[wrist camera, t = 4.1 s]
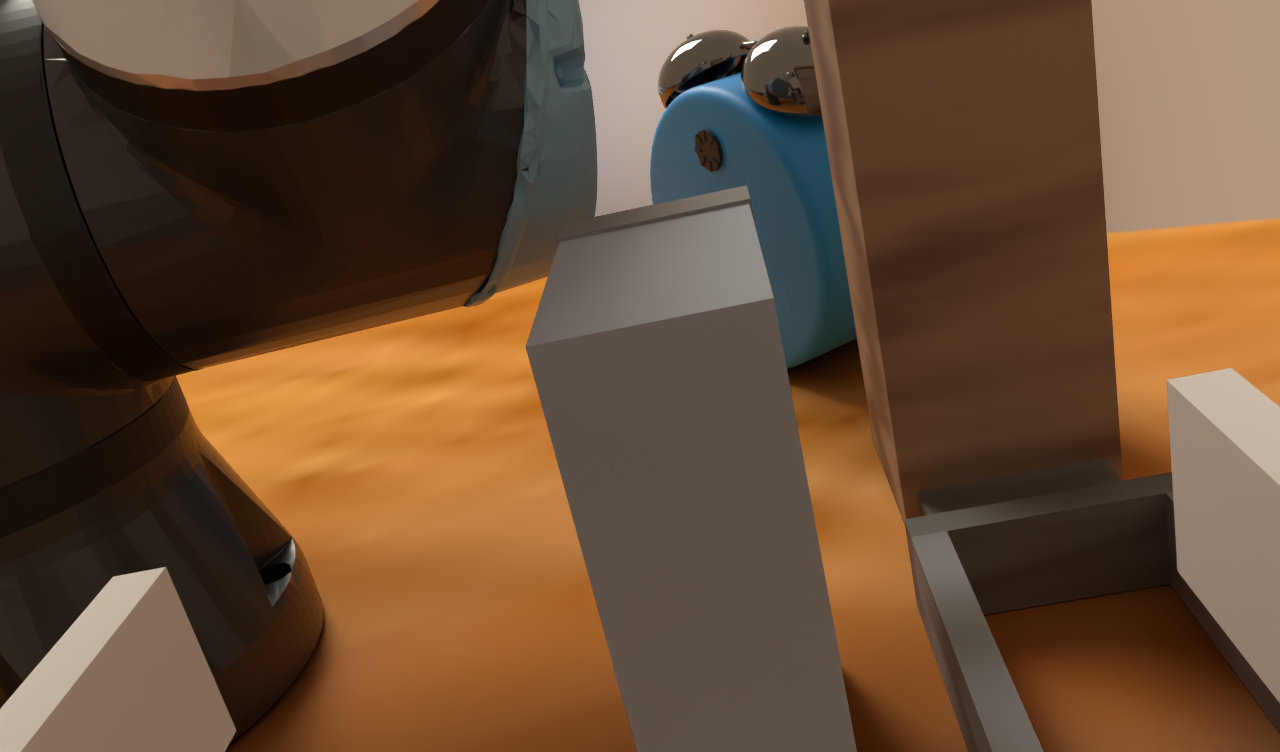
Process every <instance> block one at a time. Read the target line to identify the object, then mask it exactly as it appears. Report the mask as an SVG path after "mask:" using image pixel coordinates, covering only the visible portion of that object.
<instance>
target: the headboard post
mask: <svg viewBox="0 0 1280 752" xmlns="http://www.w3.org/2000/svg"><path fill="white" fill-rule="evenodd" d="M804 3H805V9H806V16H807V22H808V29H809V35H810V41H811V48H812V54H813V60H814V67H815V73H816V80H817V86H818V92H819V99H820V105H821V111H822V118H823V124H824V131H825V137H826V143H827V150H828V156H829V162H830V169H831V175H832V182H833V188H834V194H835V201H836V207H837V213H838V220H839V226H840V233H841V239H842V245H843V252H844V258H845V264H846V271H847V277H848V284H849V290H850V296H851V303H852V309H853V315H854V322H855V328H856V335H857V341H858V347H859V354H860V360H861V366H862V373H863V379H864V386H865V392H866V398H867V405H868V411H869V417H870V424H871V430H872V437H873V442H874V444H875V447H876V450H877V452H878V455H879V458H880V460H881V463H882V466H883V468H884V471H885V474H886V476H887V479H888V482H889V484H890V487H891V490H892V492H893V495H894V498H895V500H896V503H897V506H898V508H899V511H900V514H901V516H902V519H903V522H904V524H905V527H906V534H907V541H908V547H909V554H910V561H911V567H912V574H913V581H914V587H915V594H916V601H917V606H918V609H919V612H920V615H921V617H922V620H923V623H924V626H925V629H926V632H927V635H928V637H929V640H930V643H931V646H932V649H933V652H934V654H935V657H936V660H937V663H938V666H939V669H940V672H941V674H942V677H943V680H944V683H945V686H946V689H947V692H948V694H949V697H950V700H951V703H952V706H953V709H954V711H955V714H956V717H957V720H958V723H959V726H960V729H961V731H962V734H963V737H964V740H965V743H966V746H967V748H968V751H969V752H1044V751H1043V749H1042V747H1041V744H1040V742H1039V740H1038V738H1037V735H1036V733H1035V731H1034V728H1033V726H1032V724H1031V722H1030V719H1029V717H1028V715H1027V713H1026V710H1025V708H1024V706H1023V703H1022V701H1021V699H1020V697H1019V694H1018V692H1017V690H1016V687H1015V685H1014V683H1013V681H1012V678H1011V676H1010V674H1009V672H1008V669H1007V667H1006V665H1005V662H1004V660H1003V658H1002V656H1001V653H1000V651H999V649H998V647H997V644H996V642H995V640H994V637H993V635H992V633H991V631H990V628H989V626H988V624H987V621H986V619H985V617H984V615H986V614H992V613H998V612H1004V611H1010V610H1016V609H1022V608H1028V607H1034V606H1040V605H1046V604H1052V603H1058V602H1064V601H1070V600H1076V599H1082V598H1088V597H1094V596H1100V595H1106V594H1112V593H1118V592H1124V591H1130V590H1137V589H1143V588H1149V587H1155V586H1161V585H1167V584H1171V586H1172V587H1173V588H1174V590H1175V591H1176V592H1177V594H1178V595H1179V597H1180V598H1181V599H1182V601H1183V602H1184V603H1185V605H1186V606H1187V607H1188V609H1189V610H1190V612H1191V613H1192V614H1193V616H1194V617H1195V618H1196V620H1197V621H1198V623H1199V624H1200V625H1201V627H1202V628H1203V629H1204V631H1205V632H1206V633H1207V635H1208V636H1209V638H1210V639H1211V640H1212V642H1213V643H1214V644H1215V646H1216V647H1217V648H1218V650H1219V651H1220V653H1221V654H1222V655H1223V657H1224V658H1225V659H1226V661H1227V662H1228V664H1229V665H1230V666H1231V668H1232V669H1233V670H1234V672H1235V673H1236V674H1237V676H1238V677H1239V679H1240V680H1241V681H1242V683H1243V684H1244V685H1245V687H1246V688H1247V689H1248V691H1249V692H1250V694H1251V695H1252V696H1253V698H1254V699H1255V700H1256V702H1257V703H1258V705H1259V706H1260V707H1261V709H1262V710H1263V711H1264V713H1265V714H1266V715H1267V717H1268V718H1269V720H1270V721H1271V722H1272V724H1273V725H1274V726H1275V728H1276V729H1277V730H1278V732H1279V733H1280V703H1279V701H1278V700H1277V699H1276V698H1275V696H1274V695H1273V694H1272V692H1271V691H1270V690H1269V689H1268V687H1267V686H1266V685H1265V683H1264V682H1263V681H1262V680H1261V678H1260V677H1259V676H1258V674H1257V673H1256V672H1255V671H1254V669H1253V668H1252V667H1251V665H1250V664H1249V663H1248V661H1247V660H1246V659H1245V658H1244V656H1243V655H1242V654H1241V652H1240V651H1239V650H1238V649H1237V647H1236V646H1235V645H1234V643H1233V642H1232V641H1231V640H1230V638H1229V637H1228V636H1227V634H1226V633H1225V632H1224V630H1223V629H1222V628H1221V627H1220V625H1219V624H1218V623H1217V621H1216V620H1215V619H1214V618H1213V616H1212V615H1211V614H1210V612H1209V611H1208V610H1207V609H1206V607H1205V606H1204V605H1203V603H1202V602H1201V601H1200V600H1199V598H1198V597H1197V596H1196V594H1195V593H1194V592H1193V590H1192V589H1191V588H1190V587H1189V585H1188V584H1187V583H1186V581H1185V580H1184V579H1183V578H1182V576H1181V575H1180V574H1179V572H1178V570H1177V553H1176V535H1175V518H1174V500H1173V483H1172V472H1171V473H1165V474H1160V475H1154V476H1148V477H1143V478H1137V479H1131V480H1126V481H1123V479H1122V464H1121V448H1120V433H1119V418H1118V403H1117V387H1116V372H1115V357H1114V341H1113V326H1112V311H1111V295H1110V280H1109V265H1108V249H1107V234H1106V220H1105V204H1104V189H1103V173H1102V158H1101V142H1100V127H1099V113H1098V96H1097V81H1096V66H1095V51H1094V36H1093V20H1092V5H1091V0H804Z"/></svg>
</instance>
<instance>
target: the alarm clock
mask: <svg viewBox="0 0 1280 752" xmlns="http://www.w3.org/2000/svg"><path fill="white" fill-rule="evenodd" d="M658 92H659V95H660V98H661V101H662V103H663V105H664V107H665V108H666V111H665V112H664V113H663V115H662V117H661V119H660V121H659V124H658V127H657V129H656V132H655V136H654V141H653V146H652V154H651V168H650V169H651V170H650V175H651V193H652V201H653V205H655V204H660V203H664V202H669V201H674V200H679V199H684V198H688V197H693V196H698V195H703V194H707V193H712V192H717V191H722V190H727V189H731V188H736V187H741V186H746V185H747V188H748V192H749V195H750V199H751V205H752V210H753V216H754V221H755V226H756V232H757V236H758V239H759V243H760V247H761V251H762V255H763V259H764V262H765V266H766V270H767V274H768V278H769V281H770V285H771V289H772V293H773V297H774V302H775V307H776V313H777V318H778V323H779V329H780V334H781V340H782V345H783V351H784V356H785V362H786V367H787V368H792V367H795V366H798V365H800V364H802V363H805V362H807V361H809V360H811V359H813V358H815V357H817V356H820V355H822V354H824V353H826V352H828V351H830V350H833V349H835V348H837V347H839V346H841V345H843V344H845V343H848V342H850V341H852V340H854V339H856V338H857V335H856V328H855V322H854V315H853V309H852V303H851V296H850V290H849V284H848V277H847V271H846V264H845V258H844V252H843V245H842V239H841V233H840V226H839V220H838V213H837V207H836V201H835V194H834V188H833V182H832V175H831V169H830V162H829V156H828V150H827V143H826V137H825V131H824V124H823V118H822V111H821V105H820V99H819V92H818V86H817V80H816V73H815V67H814V60H813V54H812V48H811V41H810V35H809V29H808V26H794V27H786V28H782V29H778V30H776V31H773V32H771V33H770V34H767V35H766V36H764V37H762V38H761V39H760V40H759V41H749V40H748V39H747V38H746V37H744V36H742V35H740V34H738V33H736V32H732V31H728V30H713V31H708V32H704V33H700V34H697V35H695V36H693V35H692V34H690V35H688V36H687V40H686V41H684V42H683V43H681V44H680V45H679V46H678V47H677V48H676V49H675V50H673V51H672V53H671V54H670V55H669V56H668V58H667V59H666V61H665V63H664V64H663V67H662V69H661V71H660V75H659V80H658Z"/></svg>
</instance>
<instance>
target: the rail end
mask: <svg viewBox="0 0 1280 752" xmlns="http://www.w3.org/2000/svg"><path fill="white" fill-rule="evenodd" d="M556 240H557V244H558V248H557V251H556V254H555V257H554V260H553V263H552V266H551V270H550V273H549V276H548V279H547V282H546V285H545V288H544V291H543V295H542V298H541V301H540V304H539V307H538V310H537V313H536V316H535V319H534V323H533V326H532V329H531V332H530V335H529V338H528V341H527V344H526V350H527V353H528V357H529V361H530V364H531V368H532V372H533V375H534V379H535V382H536V386H537V390H538V393H539V397H540V401H541V404H542V408H543V411H544V415H545V419H546V422H547V426H548V430H549V433H550V437H551V441H552V444H553V448H554V451H555V455H556V459H557V462H558V466H559V470H560V473H561V477H562V480H563V484H564V488H565V491H566V495H567V499H568V502H569V506H570V510H571V513H572V517H573V520H574V524H575V528H576V531H577V535H578V539H579V542H580V546H581V549H582V553H583V557H584V560H585V564H586V568H587V571H588V575H589V579H590V582H591V586H592V589H593V593H594V597H595V600H596V604H597V608H598V611H599V615H600V618H601V622H602V626H603V629H604V633H605V637H606V640H607V644H608V648H609V651H610V655H611V658H612V662H613V666H614V669H615V673H616V677H617V680H618V684H619V687H620V691H621V695H622V698H623V702H624V706H625V709H626V713H627V717H628V720H629V724H630V727H631V731H632V735H633V738H634V742H635V746H636V749H637V752H857V749H856V744H855V738H854V733H853V727H852V722H851V716H850V711H849V706H848V700H847V695H846V689H845V684H844V678H843V673H842V667H841V662H840V656H839V651H838V645H837V640H836V635H835V629H834V624H833V618H832V613H831V607H830V602H829V596H828V591H827V585H826V580H825V575H824V569H823V564H822V558H821V553H820V547H819V542H818V536H817V531H816V525H815V520H814V514H813V509H812V504H811V498H810V493H809V487H808V482H807V476H806V471H805V465H804V460H803V454H802V449H801V444H800V438H799V433H798V427H797V422H796V416H795V411H794V405H793V400H792V394H791V389H790V383H789V378H788V373H787V367H786V362H785V356H784V351H783V345H782V340H781V334H780V329H779V323H778V318H777V313H776V307H775V302H774V297H773V293H772V289H771V285H770V281H769V278H768V274H767V270H766V266H765V262H764V259H763V255H762V251H761V247H760V243H759V239H758V236H757V232H756V226H755V221H754V216H753V210H752V205H751V199H750V195H749V192H748V188H747V185H746V186H741V187H736V188H731V189H727V190H722V191H717V192H712V193H707V194H703V195H698V196H693V197H688V198H684V199H679V200H674V201H669V202H664V203H660V204H655V205H650V206H645V207H640V208H636V209H631V210H626V211H621V212H616V213H612V214H607V215H602V216H597V217H592V218H588V219H583V220H578V221H573V222H569V223H564V224H561V226H560V229H559V232H558V235H557V238H556Z"/></svg>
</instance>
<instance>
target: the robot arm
mask: <svg viewBox="0 0 1280 752" xmlns="http://www.w3.org/2000/svg"><path fill="white" fill-rule="evenodd" d="M584 61H585V51H584V40H583V25H582V18H581V12H580V7H579V1H578V0H0V752H225V751H226V749H227V747H228V745H229V743H231V742H232V741H233V740H234V739H236V738H237V737H238V736H239V735H241V734H242V733H243V732H244V731H246V730H247V729H248V728H249V727H250V726H251V725H252V724H254V723H255V722H256V721H257V720H258V719H259V718H260V717H261V716H262V715H263V714H264V713H265V712H266V711H267V710H269V709H270V708H271V707H272V706H273V705H274V703H275V702H276V701H277V700H278V699H279V698H280V697H281V696H282V695H283V694H284V693H285V691H286V690H287V689H288V688H289V687H290V685H291V684H292V683H293V682H294V680H295V679H296V678H297V676H298V675H299V674H300V672H301V671H302V669H303V668H304V666H305V665H306V663H307V662H308V660H309V658H310V656H311V654H312V653H313V651H314V649H315V646H316V644H317V642H318V639H319V636H320V633H321V629H322V624H323V605H322V600H321V597H320V595H319V592H318V590H317V587H316V584H315V582H314V579H313V577H312V574H311V572H310V569H309V566H308V564H307V561H306V559H305V556H304V554H303V552H302V550H301V548H300V547H299V545H298V544H297V542H296V540H295V539H294V538H293V536H292V535H291V534H290V533H289V532H288V531H287V530H286V529H285V527H284V526H283V525H282V524H281V523H280V522H279V521H278V519H277V518H276V517H275V516H274V515H273V514H272V513H271V512H270V510H269V509H268V508H267V507H266V506H265V505H264V504H263V502H262V501H261V500H260V499H259V498H258V497H257V496H256V495H255V493H254V492H253V491H252V490H251V489H250V488H249V487H248V485H247V484H246V483H245V482H244V481H243V480H242V479H241V478H240V476H239V475H238V474H237V473H236V472H235V471H234V470H233V468H232V467H231V466H230V465H229V464H228V463H227V462H226V461H225V459H224V458H223V457H222V456H221V455H220V454H219V453H218V451H217V450H216V449H215V448H214V447H213V446H212V445H211V444H210V442H209V441H208V440H207V439H206V438H205V437H204V436H203V434H202V433H201V432H200V430H199V428H198V427H197V425H196V423H195V421H194V419H193V416H192V414H191V412H190V410H189V407H188V405H187V402H186V399H185V397H184V395H183V392H182V390H181V387H180V385H179V383H178V380H177V378H176V375H179V374H183V373H187V372H191V371H194V370H200V369H203V368H206V367H211V366H215V365H219V364H223V363H227V362H231V361H236V360H240V359H244V358H248V357H252V356H256V355H261V354H265V353H269V352H273V351H277V350H282V349H286V348H290V347H294V346H298V345H302V344H307V343H311V342H315V341H319V340H323V339H327V338H332V337H336V336H340V335H344V334H348V333H352V332H357V331H361V330H365V329H369V328H373V327H377V326H382V325H386V324H390V323H394V322H398V321H403V320H407V319H411V318H415V317H419V316H423V315H428V314H432V313H436V312H440V311H444V310H448V309H453V308H457V307H461V306H466V307H471V306H476V305H479V304H481V303H483V302H485V301H486V300H488V299H489V298H490V297H492V296H493V295H494V294H495V293H498V292H501V291H504V290H507V289H511V288H514V287H517V286H520V285H523V284H526V283H529V282H532V281H536V280H539V279H542V278H545V277H548V276H549V273H550V270H551V266H552V263H553V260H554V257H555V254H556V251H557V248H558V244H557V240H556V238H557V235H558V232H559V229H560V226H561V224H564V223H569V222H573V221H578V220H583V219H588V218H592V217H594V216H595V209H596V199H597V147H596V130H595V117H594V109H593V100H592V91H591V86H590V82H589V79H588V76H587V74H586V71H585V69H584V67H583V66H584ZM1167 395H1168V413H1169V430H1170V448H1171V465H1172V483H1173V500H1174V518H1175V535H1176V553H1177V570H1178V572H1179V574H1180V575H1181V576H1182V578H1183V579H1184V580H1185V581H1186V583H1187V584H1188V585H1189V587H1190V588H1191V589H1192V590H1193V592H1194V593H1195V594H1196V596H1197V597H1198V598H1199V600H1200V601H1201V602H1202V603H1203V605H1204V606H1205V607H1206V609H1207V610H1208V611H1209V612H1210V614H1211V615H1212V616H1213V618H1214V619H1215V620H1216V621H1217V623H1218V624H1219V625H1220V627H1221V628H1222V629H1223V630H1224V632H1225V633H1226V634H1227V636H1228V637H1229V638H1230V640H1231V641H1232V642H1233V643H1234V645H1235V646H1236V647H1237V649H1238V650H1239V651H1240V652H1241V654H1242V655H1243V656H1244V658H1245V659H1246V660H1247V661H1248V663H1249V664H1250V665H1251V667H1252V668H1253V669H1254V671H1255V672H1256V673H1257V674H1258V676H1259V677H1260V678H1261V680H1262V681H1263V682H1264V683H1265V685H1266V686H1267V687H1268V689H1269V690H1270V691H1271V692H1272V694H1273V695H1274V696H1275V698H1276V699H1277V700H1278V701H1279V703H1280V407H1279V406H1278V405H1277V404H1275V403H1274V402H1273V401H1272V400H1270V399H1269V398H1268V397H1267V396H1265V395H1264V394H1263V393H1262V392H1260V391H1259V390H1258V389H1257V388H1255V387H1254V386H1253V385H1252V384H1251V383H1249V382H1248V381H1247V380H1246V379H1244V378H1243V377H1242V376H1241V375H1239V374H1238V373H1237V372H1236V371H1234V370H1233V369H1232V368H1229V369H1223V370H1218V371H1212V372H1207V373H1202V374H1196V375H1191V376H1186V377H1180V378H1175V379H1170V380H1167Z"/></svg>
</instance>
